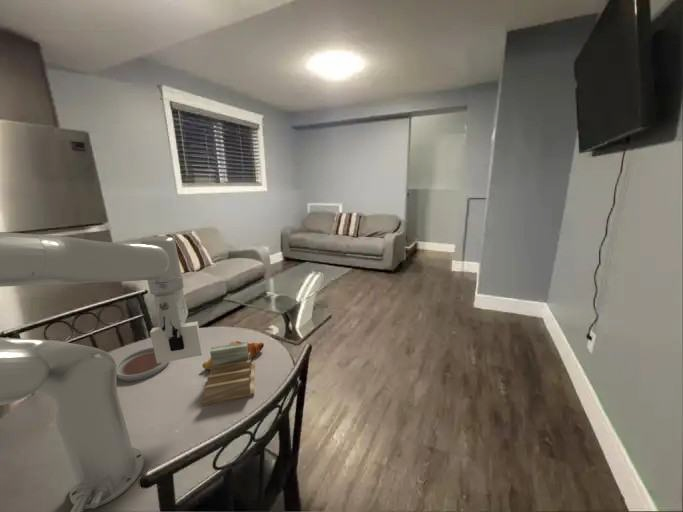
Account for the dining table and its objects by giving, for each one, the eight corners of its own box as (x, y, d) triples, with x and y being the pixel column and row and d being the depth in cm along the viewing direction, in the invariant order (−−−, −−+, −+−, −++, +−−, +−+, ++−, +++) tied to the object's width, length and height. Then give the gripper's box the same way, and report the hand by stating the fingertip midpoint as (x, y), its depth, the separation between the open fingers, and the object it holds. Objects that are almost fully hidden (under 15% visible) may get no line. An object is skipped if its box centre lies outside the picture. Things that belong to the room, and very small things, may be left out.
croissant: (206, 384, 95) (205, 372, 90) (199, 359, 101) (197, 346, 96) (267, 360, 107) (269, 348, 102) (257, 338, 112) (259, 326, 108)
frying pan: (70, 371, 93) (167, 340, 110) (72, 379, 94) (168, 346, 111) (65, 402, 81) (175, 361, 97) (68, 410, 82) (177, 368, 98)
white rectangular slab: (201, 355, 80) (196, 325, 77) (157, 363, 77) (149, 332, 74) (202, 350, 82) (197, 321, 79) (159, 358, 79) (152, 328, 76)
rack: (254, 395, 85) (250, 365, 82) (203, 405, 82) (198, 374, 79) (254, 364, 99) (252, 338, 96) (211, 372, 95) (207, 344, 93)
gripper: (175, 294, 67) (188, 361, 72) (188, 272, 82) (198, 329, 87) (138, 299, 65) (154, 367, 70) (158, 276, 79) (170, 334, 85)
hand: (178, 346), depth 78 cm, fingers closed on white rectangular slab, 2 cm apart
